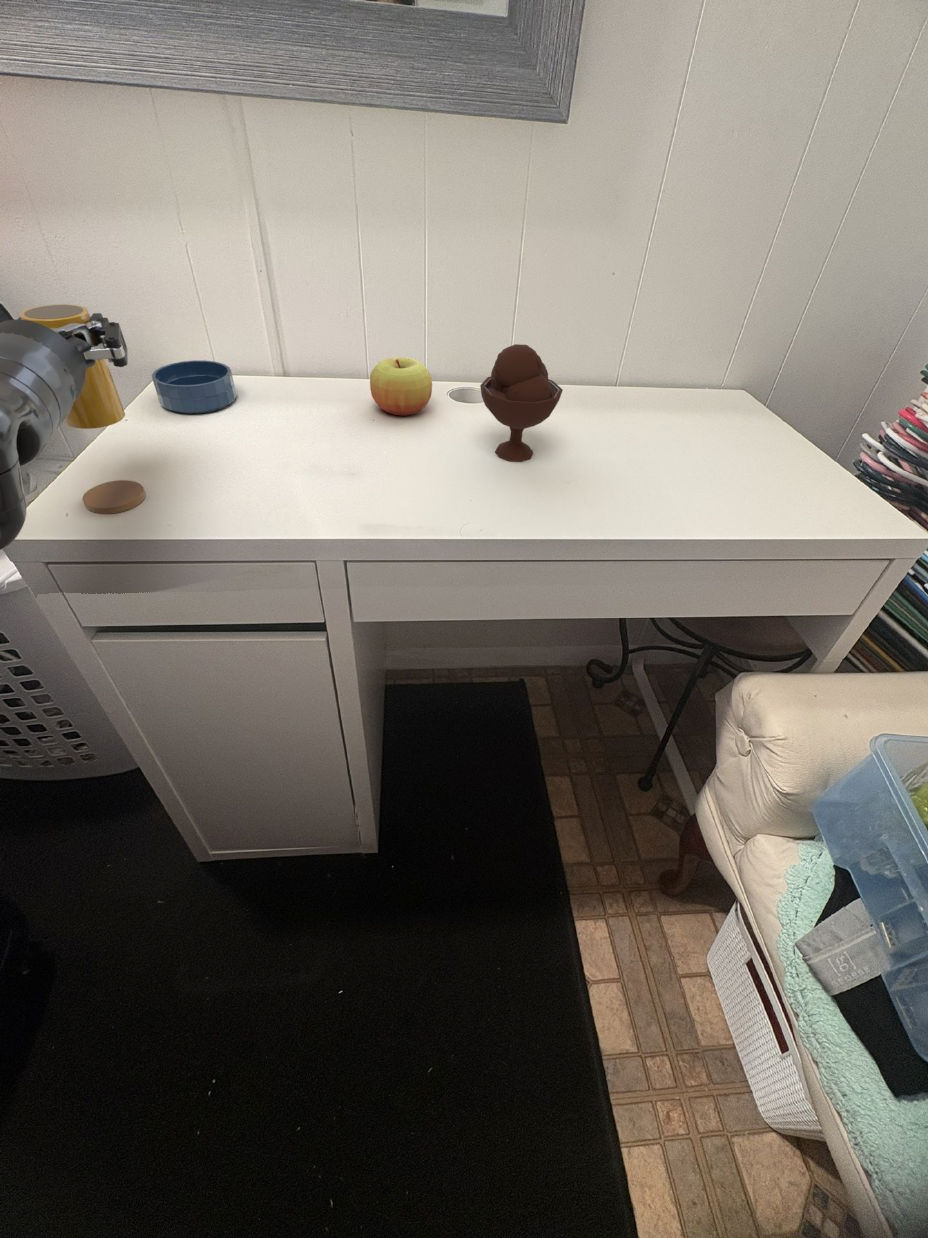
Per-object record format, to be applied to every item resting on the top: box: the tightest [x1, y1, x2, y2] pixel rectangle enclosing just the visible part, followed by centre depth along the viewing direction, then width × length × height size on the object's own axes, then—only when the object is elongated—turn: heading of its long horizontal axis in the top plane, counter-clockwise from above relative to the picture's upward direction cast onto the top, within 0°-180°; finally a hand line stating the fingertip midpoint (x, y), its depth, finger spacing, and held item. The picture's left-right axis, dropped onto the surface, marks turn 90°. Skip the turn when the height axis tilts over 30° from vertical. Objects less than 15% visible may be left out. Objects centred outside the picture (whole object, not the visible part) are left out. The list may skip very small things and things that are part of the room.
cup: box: [19, 303, 126, 430], centre depth 61 cm, size 6×6×11 cm
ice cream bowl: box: [480, 343, 564, 463], centre depth 77 cm, size 11×11×15 cm
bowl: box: [151, 359, 237, 415], centre depth 89 cm, size 11×11×4 cm
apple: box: [369, 356, 433, 416], centre depth 90 cm, size 10×10×8 cm
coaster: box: [82, 479, 147, 515], centre depth 68 cm, size 7×7×1 cm
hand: (66, 324), depth 60 cm, fingers closed on cup, 6 cm apart
